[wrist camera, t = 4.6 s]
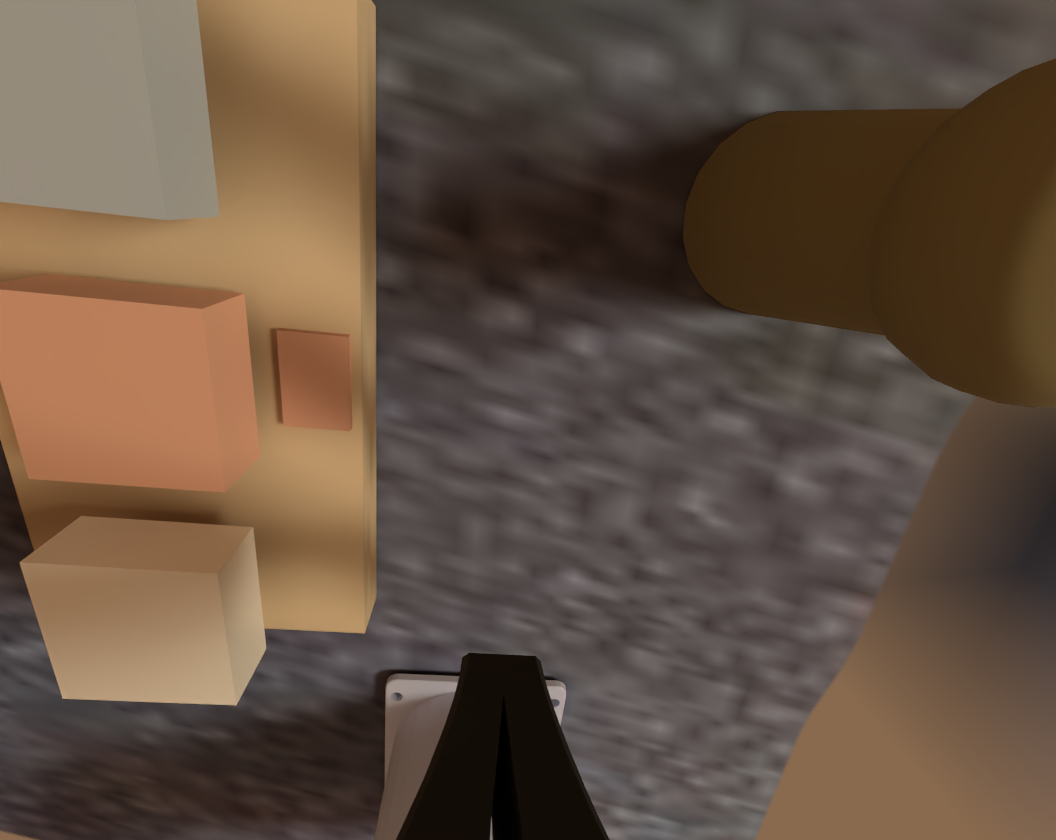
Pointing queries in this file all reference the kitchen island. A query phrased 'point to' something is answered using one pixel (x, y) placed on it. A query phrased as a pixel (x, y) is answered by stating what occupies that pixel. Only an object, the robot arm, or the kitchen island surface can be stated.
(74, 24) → the button slate
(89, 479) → the button terracotta
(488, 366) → the kitchen island surface
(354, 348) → the button board
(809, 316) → the butternut squash
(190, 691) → the button cream
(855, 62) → the kitchen island surface
